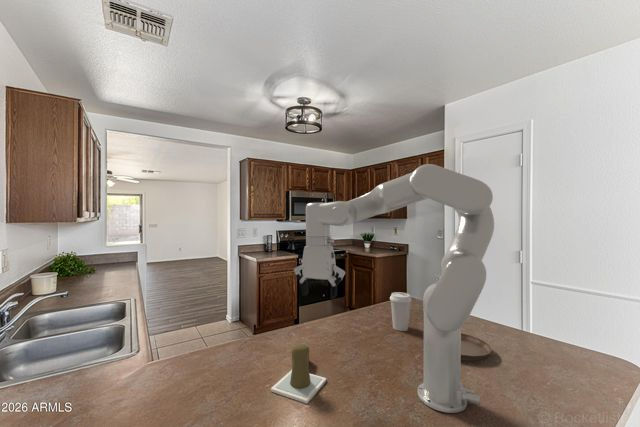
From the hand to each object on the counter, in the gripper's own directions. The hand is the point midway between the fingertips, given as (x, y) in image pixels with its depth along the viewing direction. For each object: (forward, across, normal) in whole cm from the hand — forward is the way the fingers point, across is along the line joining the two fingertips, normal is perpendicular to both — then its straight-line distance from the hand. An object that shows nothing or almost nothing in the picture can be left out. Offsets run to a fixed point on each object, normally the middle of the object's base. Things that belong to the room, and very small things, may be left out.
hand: (319, 296), depth 91 cm
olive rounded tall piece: (+24, +3, +7) cm, 25 cm away
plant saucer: (+26, -40, -38) cm, 61 cm away
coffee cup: (+26, -16, -50) cm, 59 cm away
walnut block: (+25, +9, -4) cm, 27 cm away
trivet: (+25, +4, +7) cm, 26 cm away
